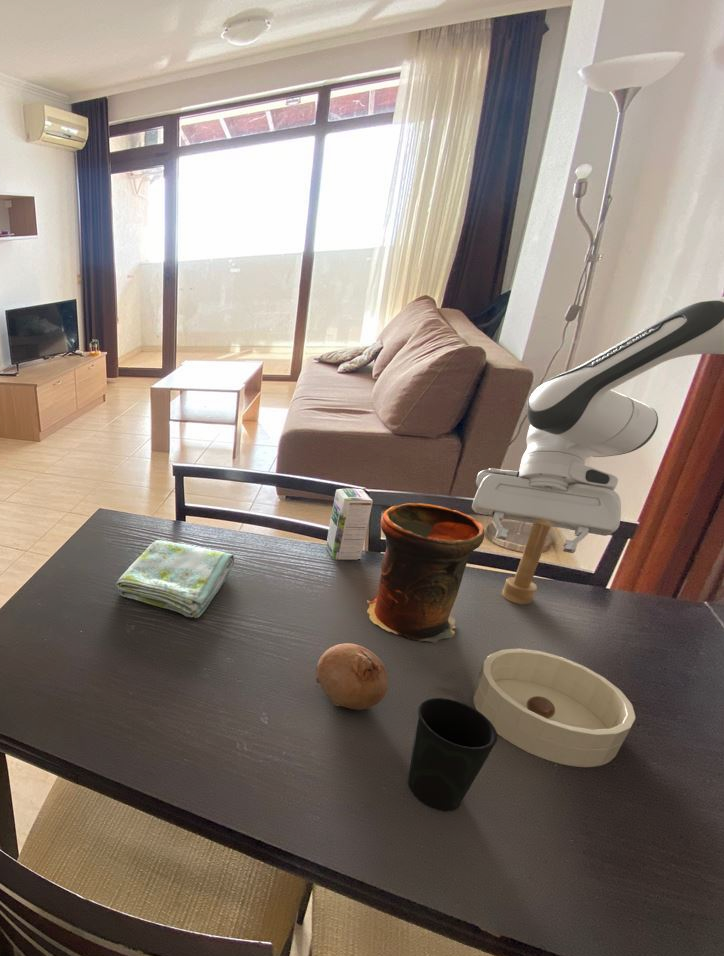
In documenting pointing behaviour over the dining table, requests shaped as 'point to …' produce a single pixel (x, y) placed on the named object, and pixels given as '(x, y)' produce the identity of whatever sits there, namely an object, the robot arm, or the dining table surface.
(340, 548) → the syrup box
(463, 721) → the cup
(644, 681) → the dining table surface
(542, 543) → the wooden tamper
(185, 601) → the towel
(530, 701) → the bead
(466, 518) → the vessel
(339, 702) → the onion
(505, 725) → the bowl
